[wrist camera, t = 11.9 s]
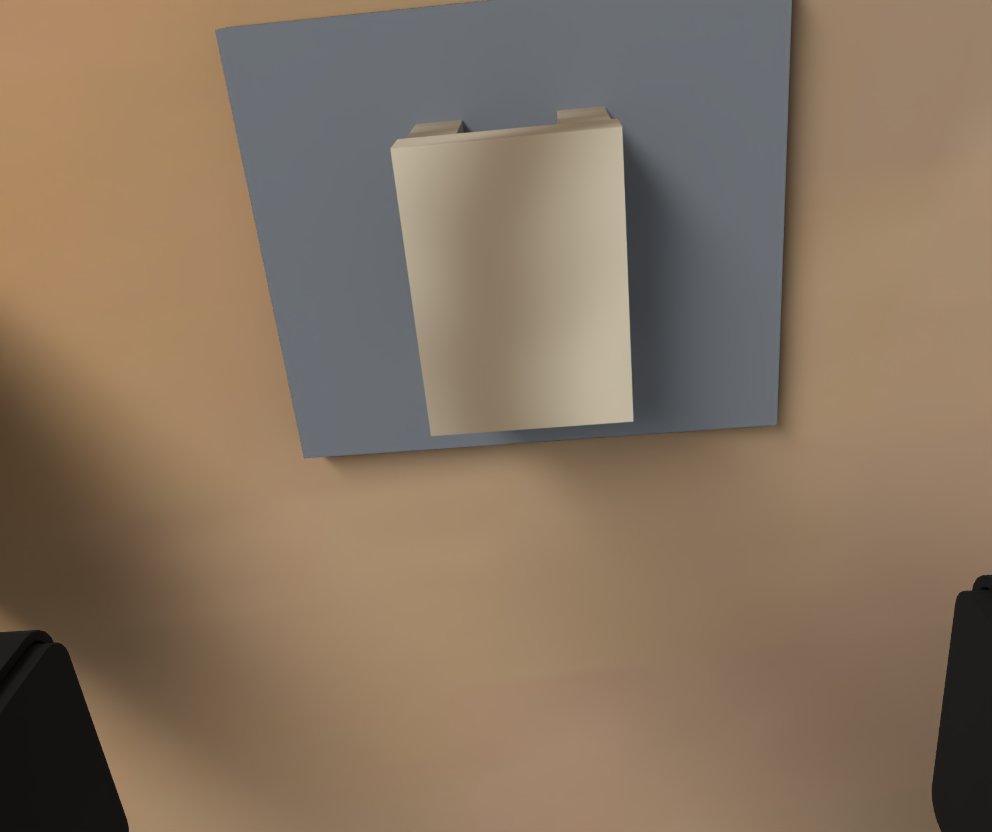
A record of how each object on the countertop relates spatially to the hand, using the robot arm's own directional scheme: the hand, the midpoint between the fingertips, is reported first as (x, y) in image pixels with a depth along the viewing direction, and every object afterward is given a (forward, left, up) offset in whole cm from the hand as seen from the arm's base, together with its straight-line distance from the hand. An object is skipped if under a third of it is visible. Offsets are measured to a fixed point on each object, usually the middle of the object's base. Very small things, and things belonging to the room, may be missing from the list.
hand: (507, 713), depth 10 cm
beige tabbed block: (0, 0, -17) cm, 17 cm away
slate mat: (0, 0, -18) cm, 18 cm away
